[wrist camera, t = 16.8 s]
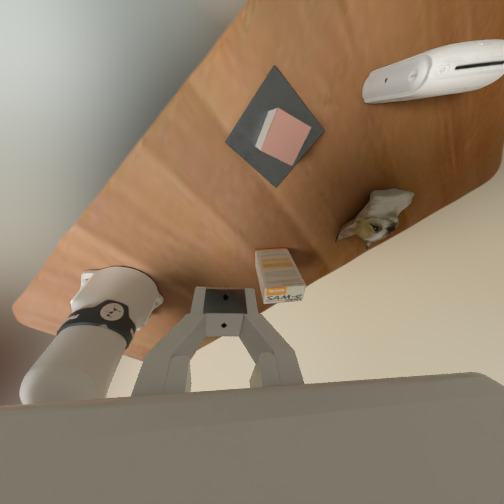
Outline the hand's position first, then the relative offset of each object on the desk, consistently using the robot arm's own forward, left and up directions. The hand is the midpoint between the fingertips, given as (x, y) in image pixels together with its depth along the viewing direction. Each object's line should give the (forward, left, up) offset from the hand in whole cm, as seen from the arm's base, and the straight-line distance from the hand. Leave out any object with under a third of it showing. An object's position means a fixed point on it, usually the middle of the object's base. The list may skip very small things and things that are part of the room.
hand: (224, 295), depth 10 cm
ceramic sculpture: (+12, -30, -30) cm, 44 cm away
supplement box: (-9, -20, -29) cm, 37 cm away
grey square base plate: (+10, -3, -29) cm, 31 cm away
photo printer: (+27, -13, -29) cm, 42 cm away
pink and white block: (+10, -3, -29) cm, 30 cm away
